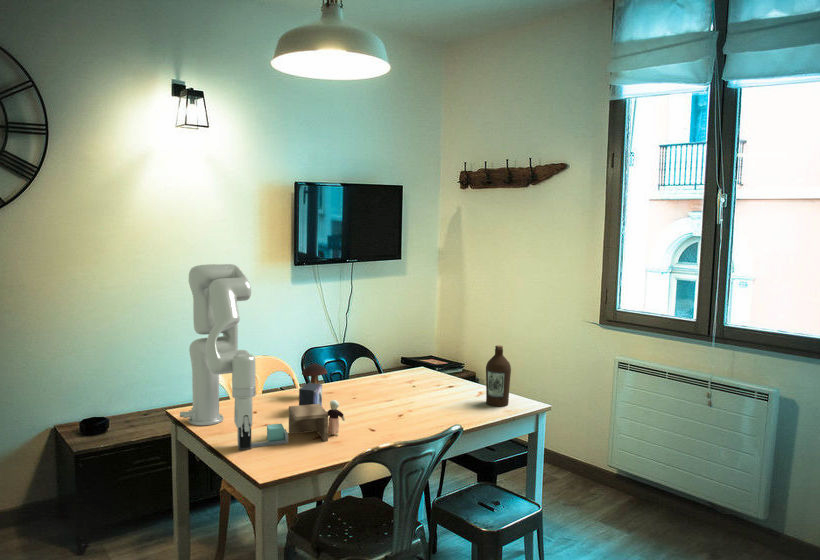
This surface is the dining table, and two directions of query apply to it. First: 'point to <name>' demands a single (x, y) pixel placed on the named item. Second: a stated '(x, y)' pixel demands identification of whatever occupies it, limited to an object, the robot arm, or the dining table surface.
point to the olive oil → (498, 379)
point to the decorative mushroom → (314, 372)
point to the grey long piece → (265, 443)
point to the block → (275, 432)
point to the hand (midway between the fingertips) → (244, 444)
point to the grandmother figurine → (334, 418)
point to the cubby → (308, 420)
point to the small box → (310, 394)
